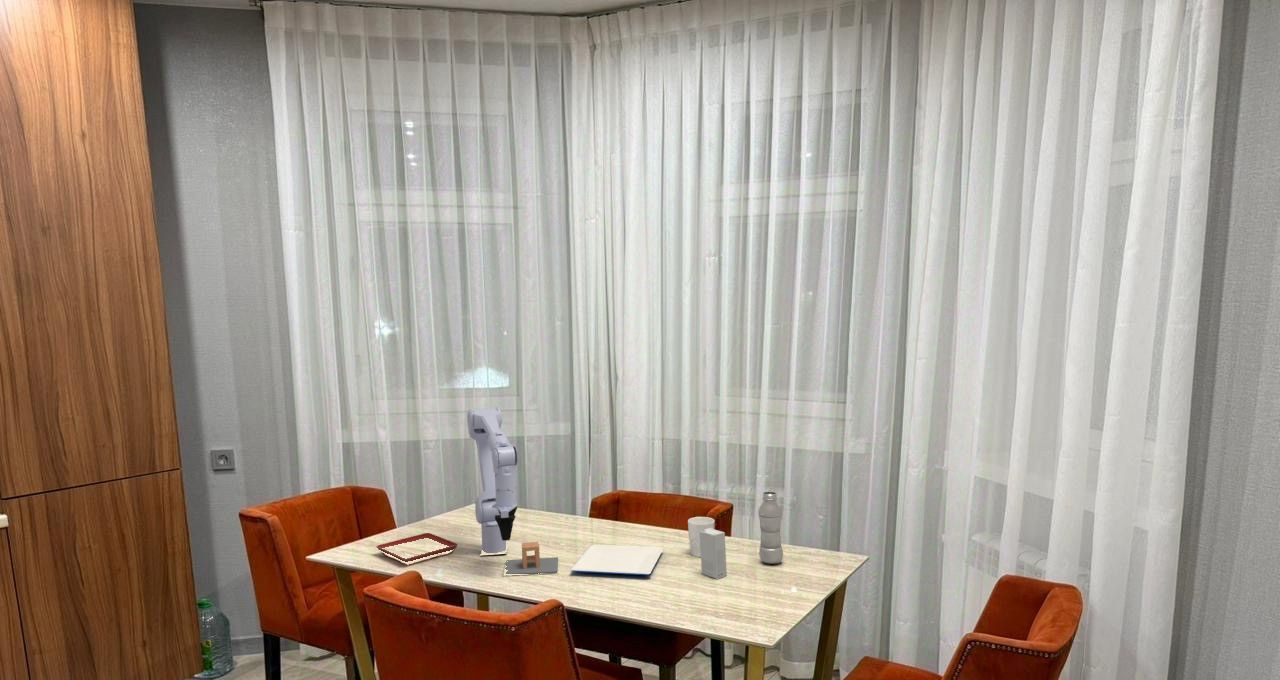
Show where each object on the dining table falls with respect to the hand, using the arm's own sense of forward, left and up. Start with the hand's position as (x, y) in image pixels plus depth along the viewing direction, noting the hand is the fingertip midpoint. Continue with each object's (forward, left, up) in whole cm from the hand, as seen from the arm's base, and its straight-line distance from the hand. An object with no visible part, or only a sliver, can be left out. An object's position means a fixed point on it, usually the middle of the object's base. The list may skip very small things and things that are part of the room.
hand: (507, 535), depth 213 cm
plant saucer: (-17, -29, -10) cm, 35 cm away
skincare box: (+15, +57, -10) cm, 59 cm away
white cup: (-3, +57, -10) cm, 58 cm away
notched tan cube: (+1, +7, -9) cm, 11 cm away
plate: (+2, +32, -10) cm, 33 cm away
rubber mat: (+1, +7, -9) cm, 11 cm away
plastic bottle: (+8, +75, -10) cm, 76 cm away
